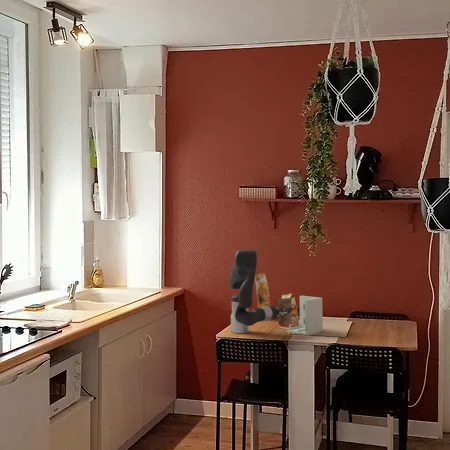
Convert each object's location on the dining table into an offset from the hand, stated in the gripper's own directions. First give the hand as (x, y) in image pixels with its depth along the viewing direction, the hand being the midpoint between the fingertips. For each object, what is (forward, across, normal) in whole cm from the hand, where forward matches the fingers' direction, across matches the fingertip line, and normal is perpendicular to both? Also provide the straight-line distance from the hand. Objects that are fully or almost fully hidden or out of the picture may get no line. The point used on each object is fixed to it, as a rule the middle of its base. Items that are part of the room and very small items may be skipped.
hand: (288, 309), depth 390 cm
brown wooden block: (-3, 0, +8) cm, 8 cm away
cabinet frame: (+9, -4, +14) cm, 17 cm away
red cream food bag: (+15, +13, +14) cm, 24 cm away
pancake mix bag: (+29, +46, +15) cm, 56 cm away
